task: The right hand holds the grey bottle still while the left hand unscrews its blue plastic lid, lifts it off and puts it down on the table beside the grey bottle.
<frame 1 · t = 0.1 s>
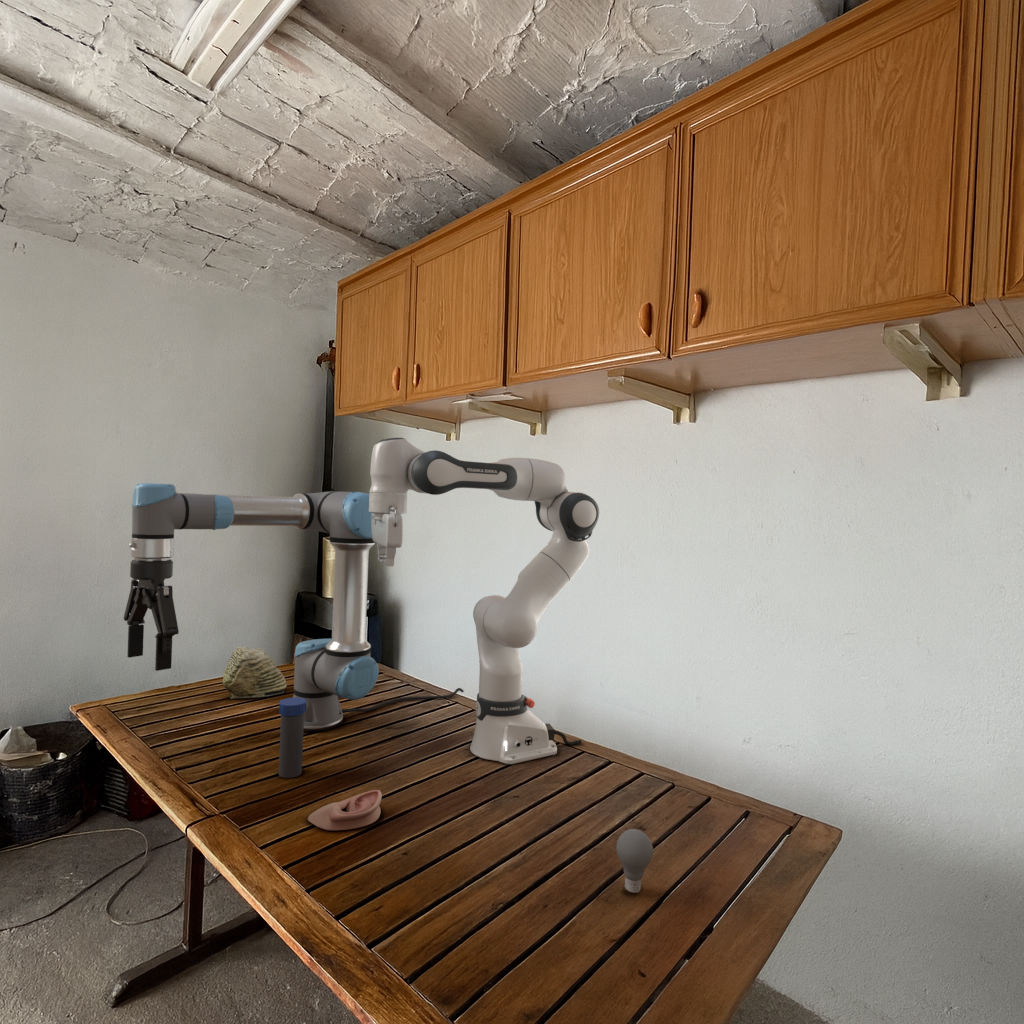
left hand: (148, 662, 129), 28 cm above the table, tool pointing down, fingers open, 13 cm apart
right hand: (385, 563, 151), 48 cm above the table, tool pointing down, fingers open, 8 cm apart
anatomical model: (345, 817, 126), on the table
lid: (293, 702, 144), point 16 cm above the table, screwed on, not yet turned
fossil: (254, 694, 198), on the table
light bulb: (632, 891, 106), on the table
grey bottle: (290, 773, 144), on the table
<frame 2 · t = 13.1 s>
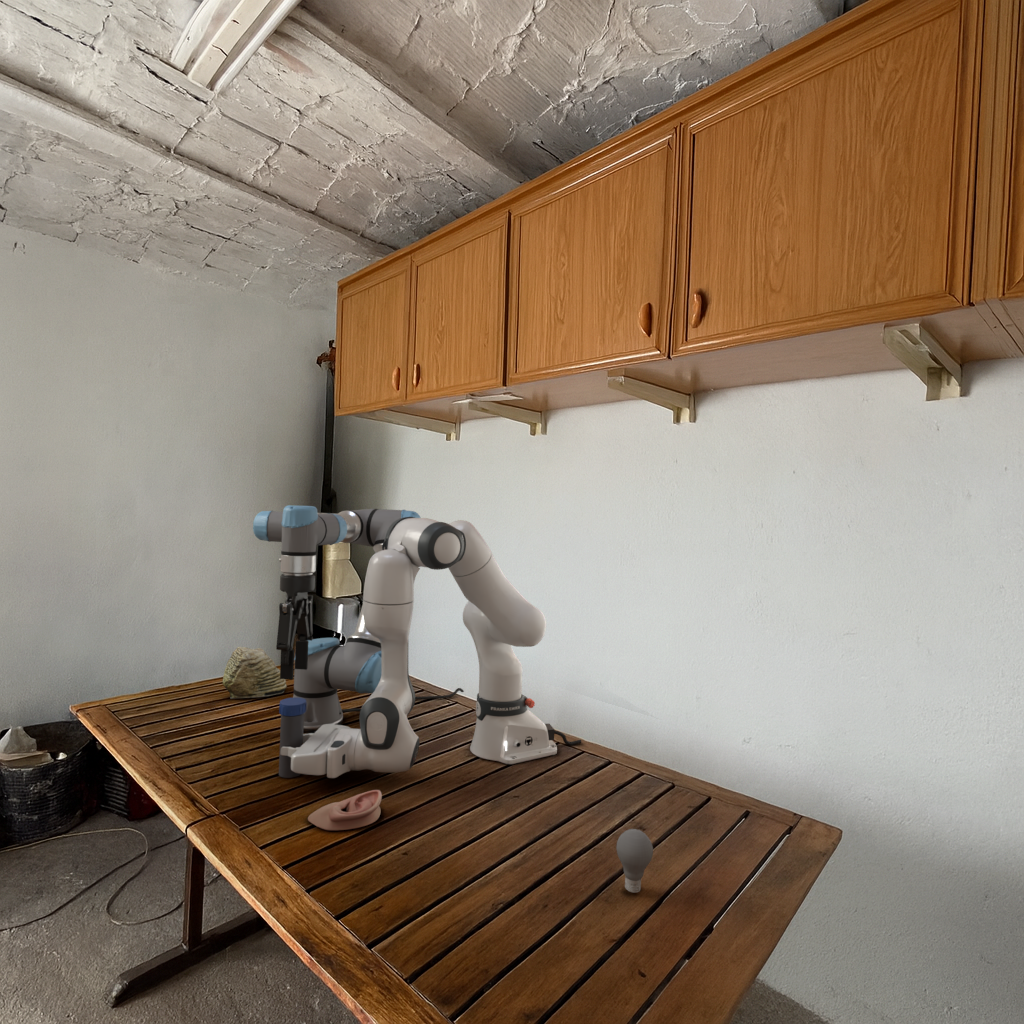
left hand: (294, 673, 144), 23 cm above the table, tool pointing down, fingers open, 8 cm apart
right hand: (287, 744, 144), 7 cm above the table, tool horizontal, fingers closed on grey bottle, 5 cm apart
grey bottle: (290, 773, 144), on the table, touching right hand
everything else where it was.
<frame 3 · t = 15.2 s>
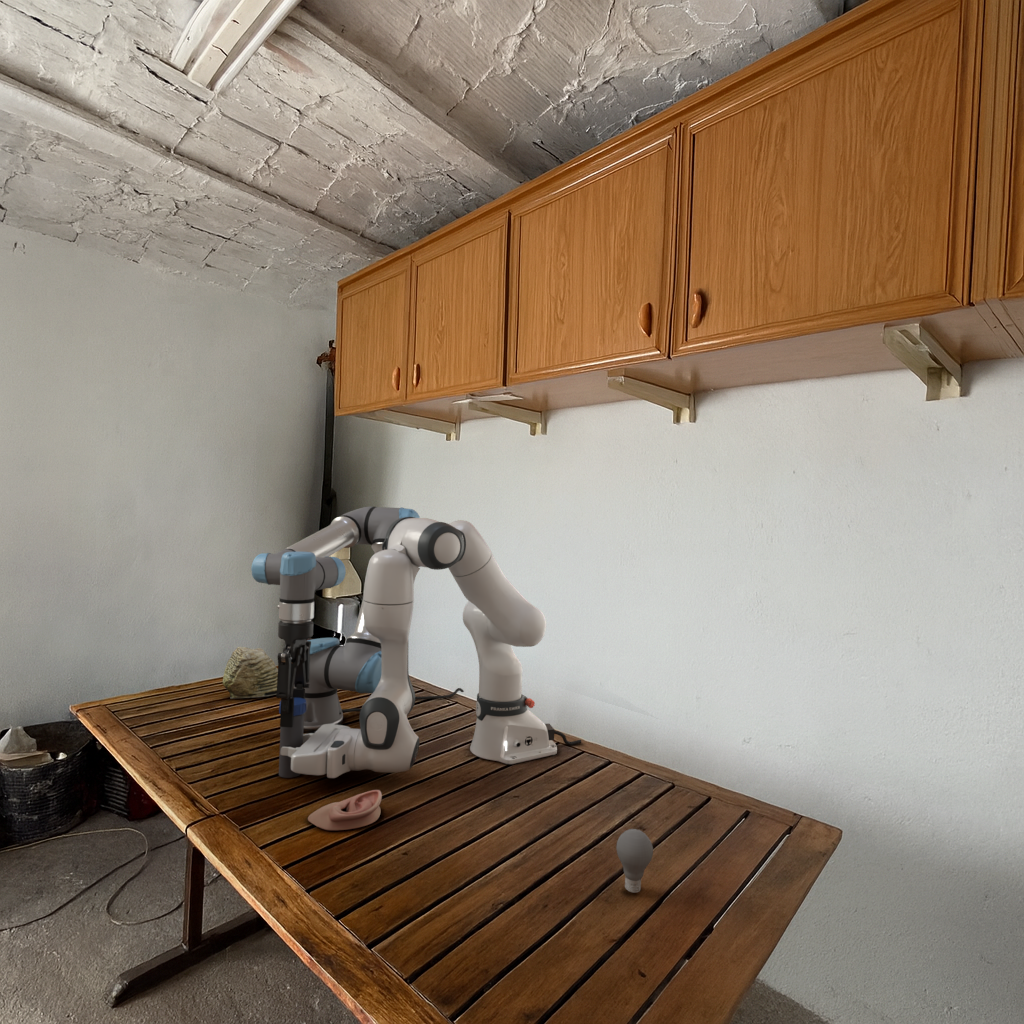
left hand: (292, 721, 144), 12 cm above the table, tool pointing down, fingers closed on lid, 6 cm apart
right hand: (287, 744, 144), 7 cm above the table, tool horizontal, fingers closed on grey bottle, 5 cm apart
lid: (293, 702, 144), point 16 cm above the table, screwed on, not yet turned, touching left hand
grey bottle: (290, 773, 144), on the table, touching right hand
everything else where it was.
when the left hand's fingers open (12 cm above the table, at t = 16.4 s): lid stays where it is, point 16 cm above the table.
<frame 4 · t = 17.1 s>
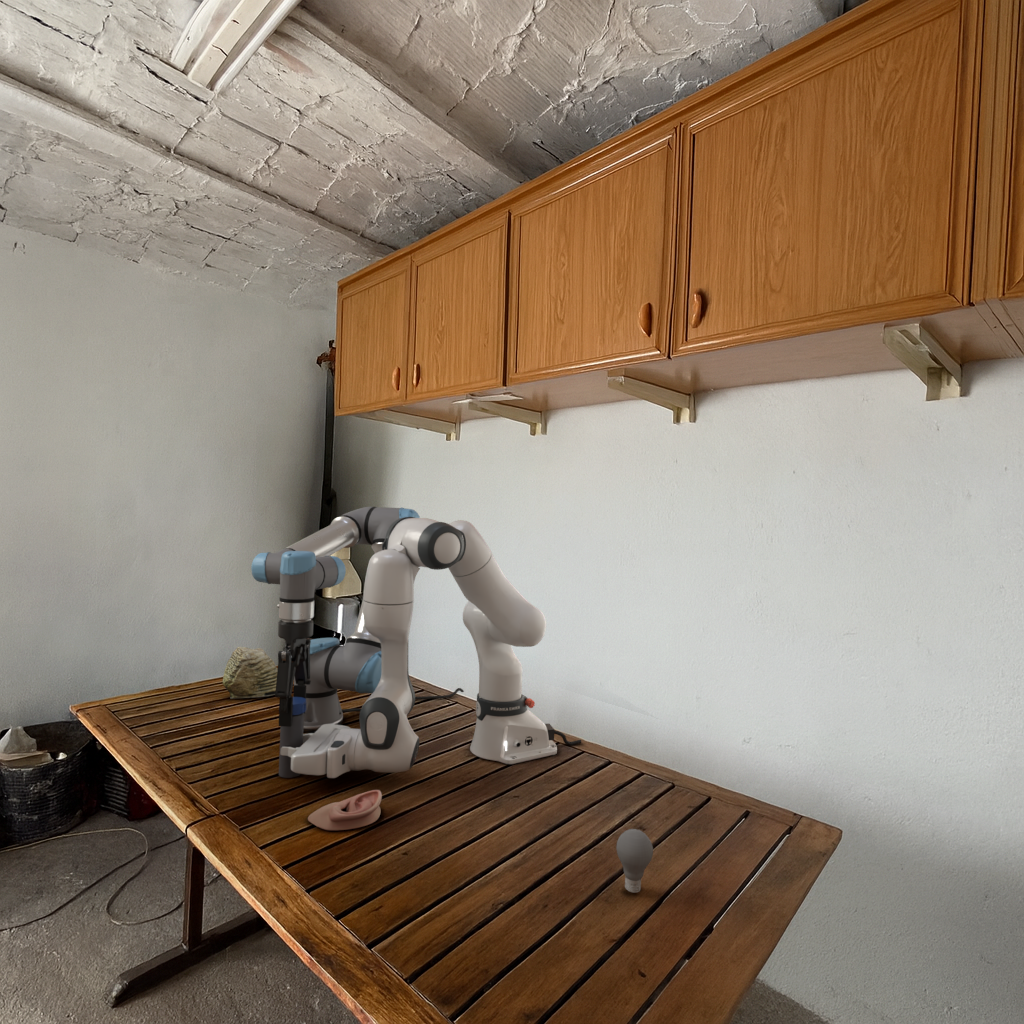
left hand: (292, 719, 144), 12 cm above the table, tool pointing down, fingers open, 8 cm apart
right hand: (287, 744, 144), 7 cm above the table, tool horizontal, fingers closed on grey bottle, 5 cm apart
lid: (293, 702, 144), point 16 cm above the table, turned 70° so far, risen 0.2 cm, still on its thread
grey bottle: (290, 773, 144), on the table, touching right hand
everything else where it was.
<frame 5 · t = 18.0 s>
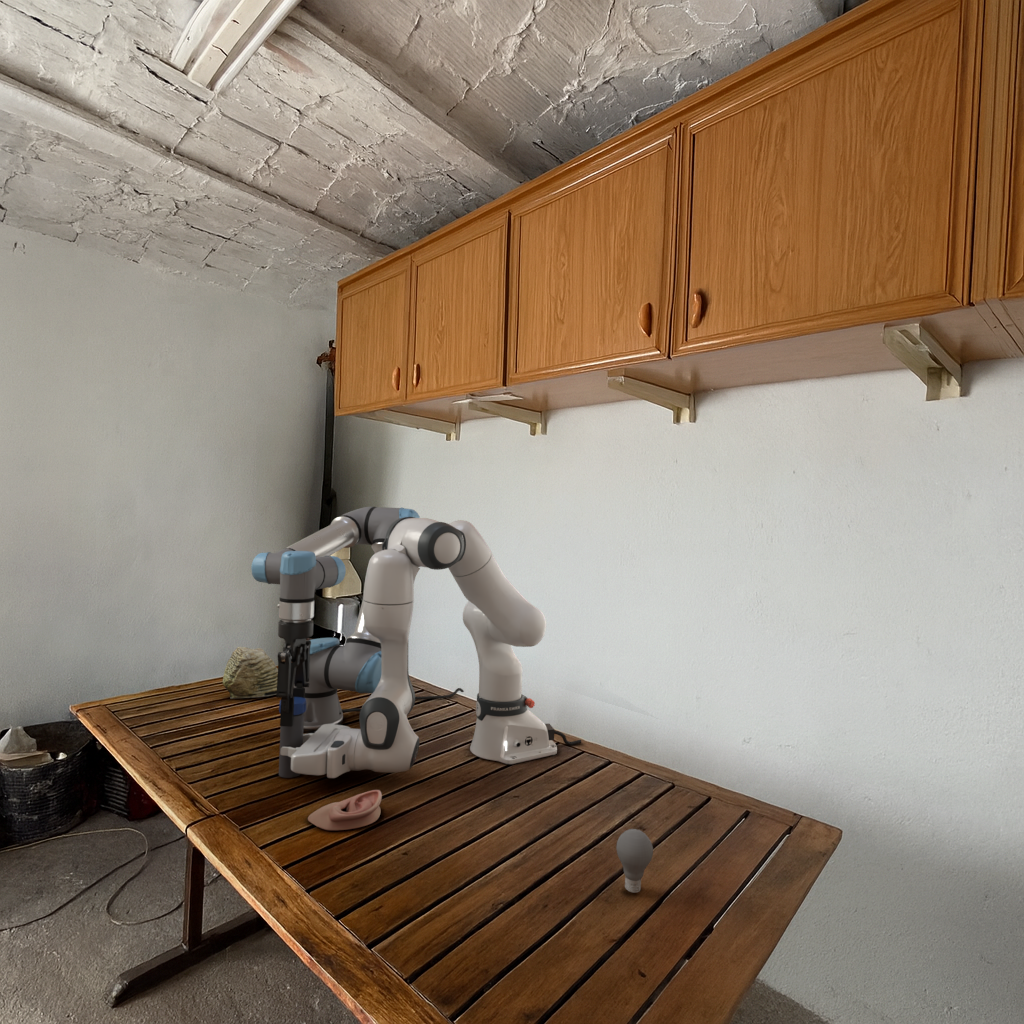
left hand: (292, 720, 144), 12 cm above the table, tool pointing down, fingers closed on lid, 6 cm apart
right hand: (287, 744, 144), 7 cm above the table, tool horizontal, fingers closed on grey bottle, 5 cm apart
lid: (293, 702, 144), point 16 cm above the table, turned 70° so far, risen 0.2 cm, still on its thread, touching left hand
grey bottle: (290, 773, 144), on the table, touching right hand
everything else where it was.
when the left hand's fingers open (0 cm above the table, at t = 24.4 s): lid drops 2 cm, point 2 cm above the table.
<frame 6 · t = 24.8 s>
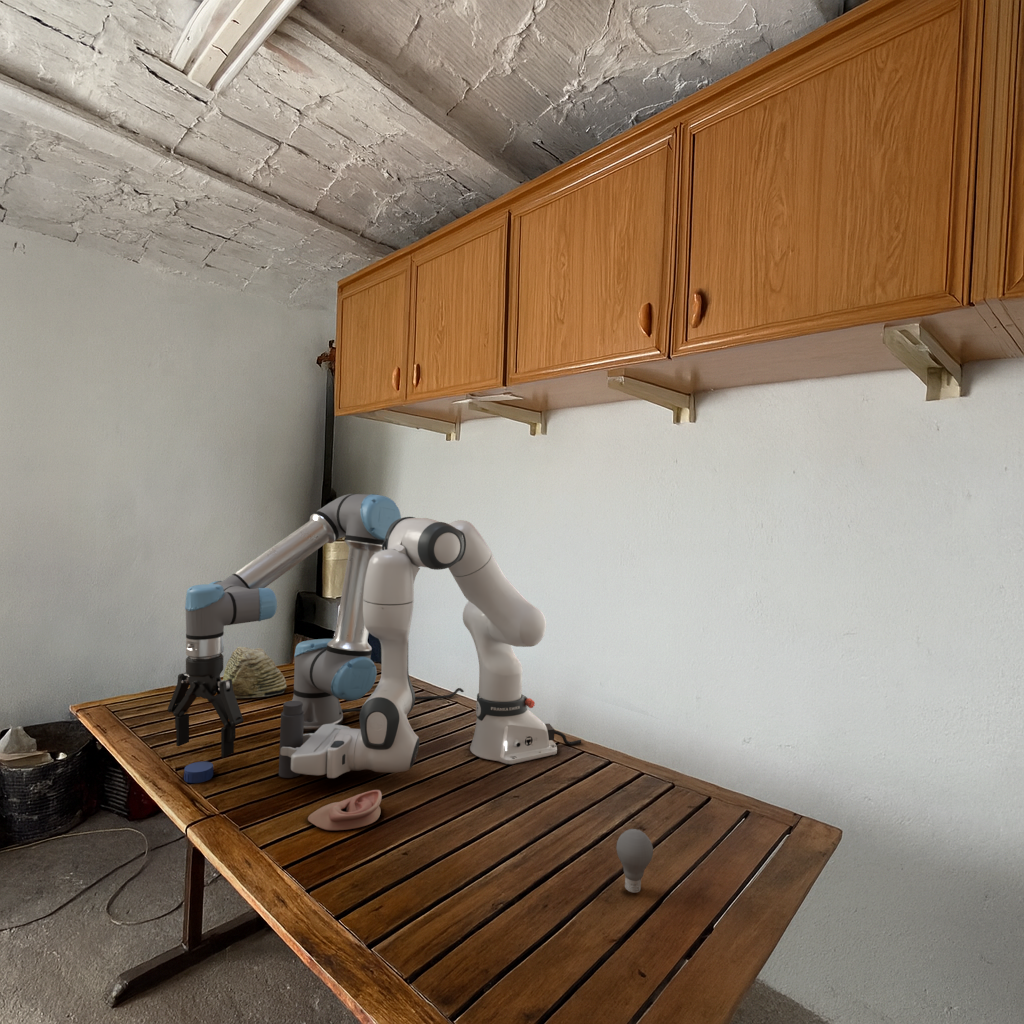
left hand: (204, 749, 141), 6 cm above the table, tool pointing down, fingers open, 13 cm apart
right hand: (287, 744, 144), 7 cm above the table, tool horizontal, fingers closed on grey bottle, 5 cm apart
lid: (198, 768, 140), point 2 cm above the table, off its thread
grey bottle: (290, 773, 144), on the table, touching right hand
everything else where it was.
when the right hand's fingers open (7 cm above the table, at t = 25.1 s): grey bottle stays where it is, on the table.
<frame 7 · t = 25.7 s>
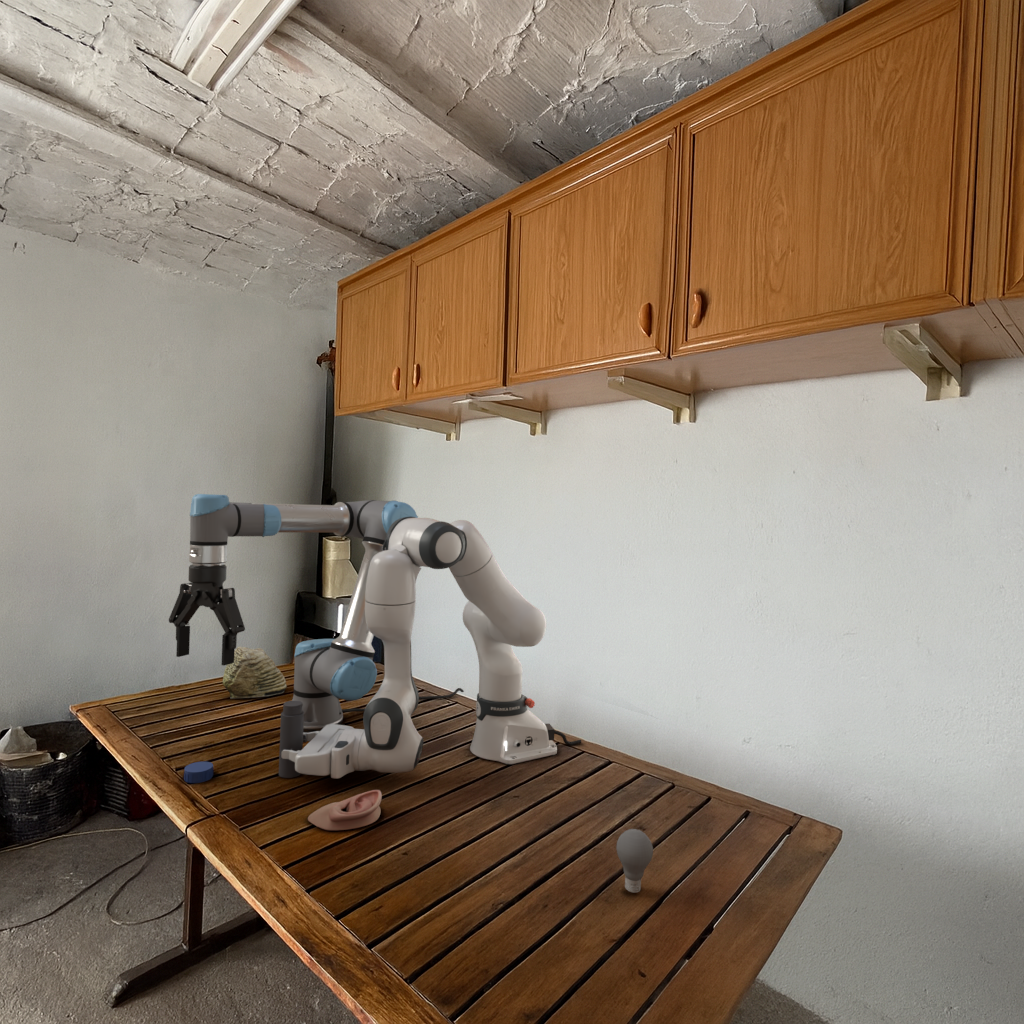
left hand: (204, 659, 140), 26 cm above the table, tool pointing down, fingers open, 13 cm apart
right hand: (291, 744, 144), 6 cm above the table, tool horizontal, fingers open, 8 cm apart
grey bottle: (290, 773, 144), on the table
everything else where it was.
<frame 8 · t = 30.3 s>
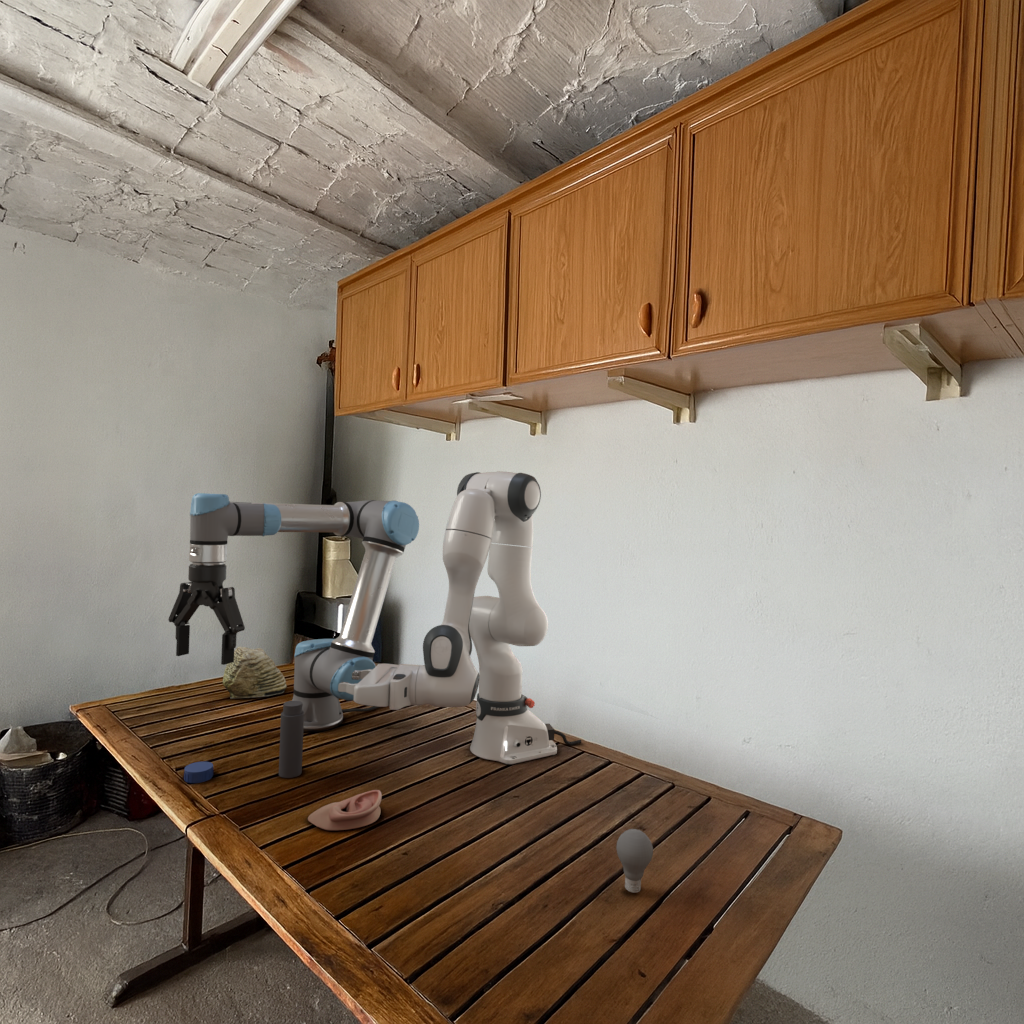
left hand: (204, 659, 140), 26 cm above the table, tool pointing down, fingers open, 13 cm apart
right hand: (346, 680, 143), 22 cm above the table, tool horizontal, fingers open, 8 cm apart
nothing on the table moved.
at the end: lid came off its thread; lid point 2.0 cm above the table; the left hand is holding nothing; the right hand is holding nothing; grey bottle tilted 0°; grey bottle moved 0.0 cm from its start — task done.
